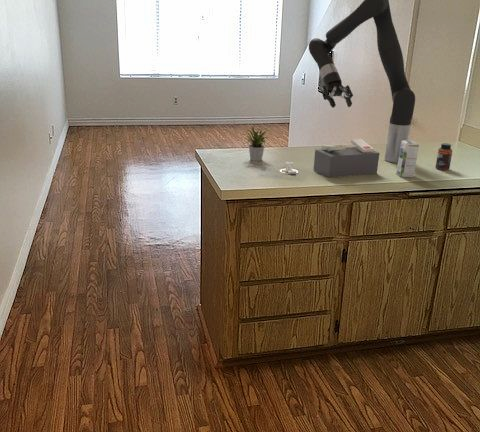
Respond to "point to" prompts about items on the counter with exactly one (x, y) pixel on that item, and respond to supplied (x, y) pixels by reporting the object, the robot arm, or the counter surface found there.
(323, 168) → the switch box
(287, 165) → the teacup and saucer
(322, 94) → the robot arm
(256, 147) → the house plant
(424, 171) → the counter surface
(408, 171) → the syrup box
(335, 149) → the sage rocker
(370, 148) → the white flat box
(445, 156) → the supplement bottle
